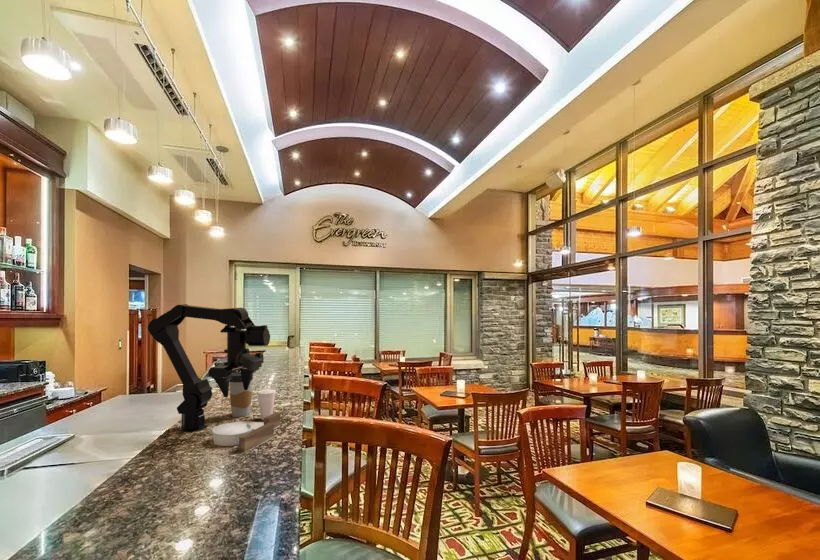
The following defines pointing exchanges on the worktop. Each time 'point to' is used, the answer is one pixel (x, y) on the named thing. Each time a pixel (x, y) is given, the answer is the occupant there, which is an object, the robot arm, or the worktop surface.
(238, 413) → the coffee cup
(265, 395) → the smoothie
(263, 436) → the wooden handled dough scraper
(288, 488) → the worktop surface
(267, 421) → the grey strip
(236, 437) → the ramekin
